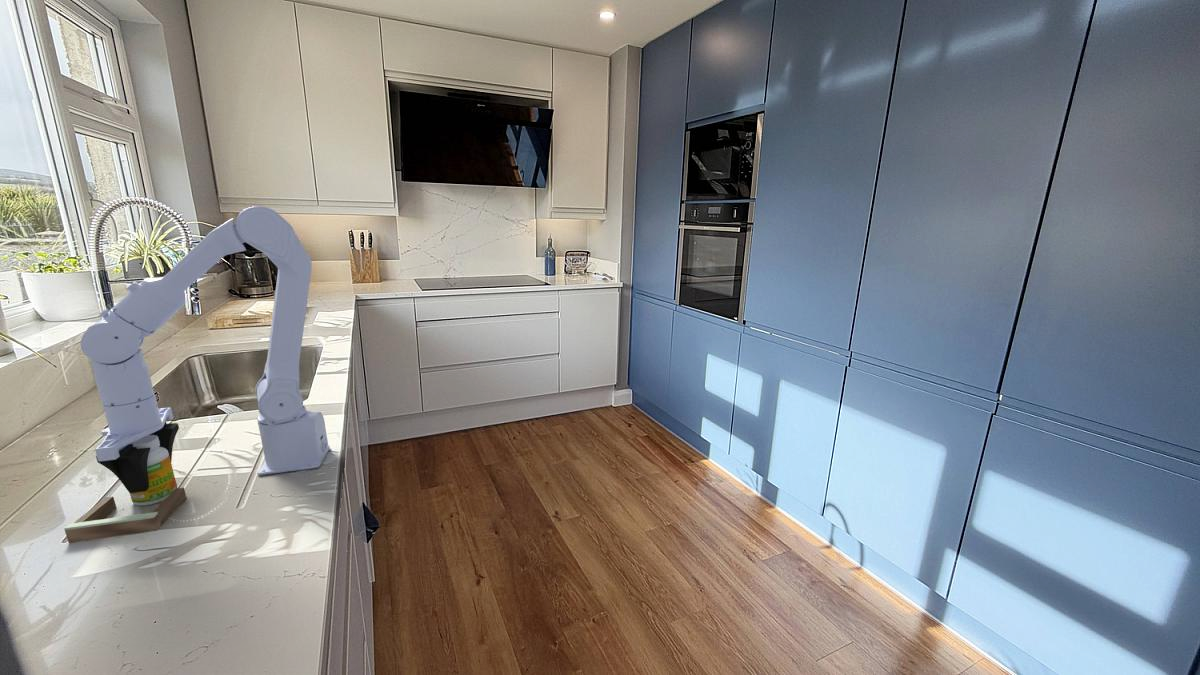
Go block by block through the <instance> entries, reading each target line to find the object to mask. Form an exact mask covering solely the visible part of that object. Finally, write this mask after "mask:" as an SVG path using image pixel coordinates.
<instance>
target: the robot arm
mask: <svg viewBox="0 0 1200 675" xmlns="http://www.w3.org/2000/svg"><path fill="white" fill-rule="evenodd" d="M233 223H235V224H233ZM244 243H246V244H248V245H250V246H251V247H253V248H254V249H256V250H258V251H259V252H261V253H263V254H264V255H265V256H266V257H267V259H269V260H270V261H271V262H272V263H273V264H274V265H275V267H276V268H277V275H276V283H275V284H276V285H275V291H274V292H275V293H274V300H273V309H272V315H271V316H272V318H271V325H270V332H269V340H268V348H267V356H266V357H267V358H266V362H265V365H264V370H263V374H262V377H261V378H260V379H259V380H258V381H257V383H256V385H255V389H254V390H255V391H254V392H255V396H256V398H257V410H258V412H259V414H258V415H257V418H256V420H257V425H258V430H259V435H260V439H261V445H262V449H263V455H264V460H265V462H264V463H263V464H262V466H261V467H260V468H259V470H257V472H256V474H257V476H263V475H264V476H265V475H272V474H277V473H278V474H279V473H287V472H294V471H301V470H302V471H304V470H310V469H316V468H317V469H318V468H319V467H320V466H321V465H322V462H323V461H324V459H325V458H326V455H327V454H328V452H329V450H330V447H331V446H330V445H329V442H328V435H327V430H326V423H325V418H324V415H323V413H322V412H320V411H310V410H307V408H306V406H305V405H304V398H303V396H302V393H301V392H300V360H301V351H302V345H303V336H304V329H305V321H306V315H307V314H306V312H307V307H308V306H307V305H308V297H309V291H310V282H311V276H312V275H311V274H312V268H313V265H312V264H313V263H312V259H311V257H310V256H309V254H308V253H307V251H306V249H305V247H304V246H303V243H302V242H301V240H300V238H299V237H298V235H297V233H296V230H295V229H294V227H293V225H291V223H289V221H287V219H285V218H284V217H282V216H281V214H279V213H278V212H277V211H275V210H274V209H272V208H270V207H266V206H263V205H262V206H261V205H256V206H250V207H247V208H244V209H242V210H241V211H240V212H239V213H238V214H237V216H236V219H235V221H234V218H233V217H232V218H230V219H229V220H227V221H225V222H224V223H222V224H221V225H219V226H217V227H216V228H214V229H213V230H211V231H210V232H209V233H208V234H206V235H205V237H204V238H202V239H201V240H200V241H199V242H198V243H197V244H196V245H195V246H194V247H193V248H192V249H191V250H190V251H189V252H188V253H186V255H185V256H184V257H183V258H182V259H181V260H179V261H178V262H177V264H175V265H174V266H173V267H172V268H171V269H170V270H169V271H168V272H167V273H166V274H165V275H164V276H162V277H146V278H144V279H143V280H141V282H137V281H134V282H132V283H131V284H130V285H129V286H128V287H127V288H126V290H127V291H129V292H128V293H127V294H126V295H124V297H123V298H122V299H120V300H119V301H118V302H117V303H116V304H115V305H114V306H113V307H111V308H110V309H108V308H105V309H104V310H102V311H101V312H100V313H99V316H100V317H102V318H103V319H100V320H98V321H96V322H95V323H94V324H92V325H90V326H88V327H87V329H86V331H84V333H83V335H82V336H81V339H80V350H81V351H82V352H83V354H84V355H85V357H87V358H88V359H90V361H91V367H92V369H93V371H94V374H93V378H94V381H95V383H96V388H97V390H98V394H99V398H100V402H101V405H102V408H103V412H104V416H105V419H106V422H107V426H108V427H106V428H104V429H102V430H101V432H100V433H101V436H102V437H104V438H103V440H102V442H101V443H100V445H99V446H97V447H95V449H94V450H95V451H94V452H95V458H96V461H97V463H99V464H100V465H101V466H103V467H104V468H106V469H108V470H109V471H110V472H112V473H113V475H115V477H117V479H118V480H119V481H120V482H121V484H122V485H123V486H124V487H125V489H126V490H127V492H129V494H130V493H136V492H144V491H146V490H147V489H148V487H149V480H148V473H147V460H148V455H149V452H150V449H151V448H150V447H149V448H140V449H137V447H133V443H135V442H136V441H138V440H139V439H141V438H143V437H145V436H147V435H156V436H158V439H159V442H160V446H159V447H163V448H165V449H167V450H168V453H169V456H170V460H171V462H172V461H173V449H174V444H175V438H176V436H177V433H178V431H179V430H180V427H179V423H177V422H173V423H172V422H171V423H167V422H168V421H171V420H173V419H174V415H173V411H172V410H173V409H172V408H171V407H162V408H159V406H158V403H157V398H156V395H155V390H154V387H153V382H152V379H151V376H150V371H149V367H148V365H147V364H146V361H145V358H144V355H143V354H144V353H143V350H142V348H141V346H142V344H143V343H144V340H145V338H147V337H151V336H153V335H155V333H156V332H158V330H159V329H161V328H162V327H163V326H164V325H165V324H166V323H167V322H168V321H169V320H171V319H172V317H173V316H174V315H176V314H177V313H178V311H180V310H181V309H182V308H183V307H184V306H185V305H186V298H185V291H186V290H187V289H188V288H189V287H191V286H192V285H193V284H195V282H196V281H197V280H199V279H200V278H201V277H202V276H203V275H204V274H205V273H207V272H208V271H209V270H210V269H211V268H212V267H213V266H215V265H216V264H217V263H218V262H219V261H220V260H222V259H223V258H224V257H225V256H228V255H232V254H235V253H241V252H245V251H247V249H246V247H245V245H244Z"/></svg>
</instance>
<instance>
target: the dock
mask: <svg viewBox="0 0 1200 675" xmlns="http://www.w3.org/2000/svg"><path fill="white" fill-rule="evenodd" d="M187 500H188V497H187V494H186V489H185V487H177V488H176V489H175V490H174V491H173V492H172V493H171V494H170V495H169V496H168V497H167V498H166V499H165V500H164V501H161V502H160V504H159V505H158V506H156V507H155V509H154V510H152V511H151V512H147V513H139V514H131V515H125V516H124V515H123V516H119V517H110V518H109V517H108V516H109V515H111V514H112V513H113V512H114V511H115V510H117V504H116V501H115V498H114V496H107V497H106V496H105V497H104V498H103V499H101V500H100V501H99V502H98V503H96V504H95V505H94V506H92V507H91V508H90V509H89V510H87V512H86V513H84V514H83V515H81V517H79V518H78V519H77V520H75V521H74V522H73V523H69V524H67V525H66V526H65V527H64V532H65V535H66V539H67V542H68V543H69V544H72V543H77V542H78V543H79V542H86V541H91V540H98V539H107V538H111V537H112V538H114V537H119V536H126V535H134V534H140V533H147V532H154V531H158V530H159V529H160V528H161V527H162V526H163V525H164V524H165V523H166V522H167V520H169V518H170V517H171V516H172V515H173V514H174V513H175V512H176V511H177V510H178V509H179V507H181V505H183V504H184V502H185V501H187ZM107 517H108V518H107Z"/></svg>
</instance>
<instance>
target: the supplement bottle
mask: <svg viewBox="0 0 1200 675" xmlns="http://www.w3.org/2000/svg"><path fill="white" fill-rule="evenodd" d="M159 446H160V442H159V439H158V436H156V435H147V436H145V437H143V438H141V439H139V440H138V441H136V442H135V443H133V447H137V449H140V448H149V447H150V448H151V449H150V452H149V455H148V460H147V473H148V480H149V487H148V489H147V490H146V491H144V492H136V493H129V496H130V499H131V502H132V503H133V505H135V506H141V507H143V506H150V505H156V504H158V503H162V502H163V501H164V500H165V499H166V498H167V497H168V496H169V495H170V494H171V493H172V492H173V491H174V490H175V489H176V488H178V484H177V480H176V475H175V472H174V469H173V464H172V461H171V460H170V456H169V453H168V450H167V449H165V448H163V447H159Z"/></svg>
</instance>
